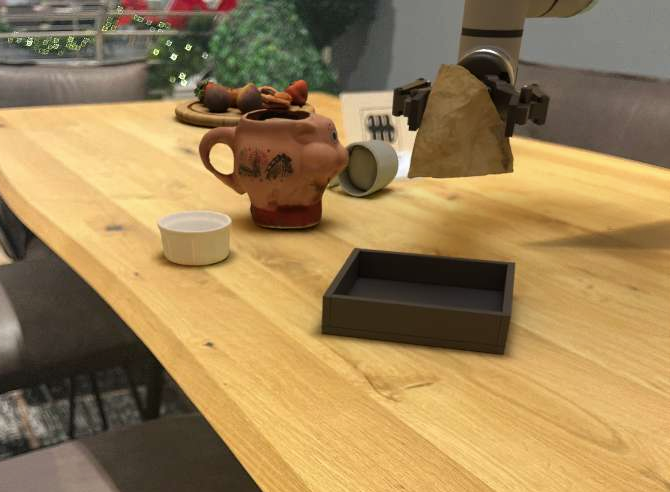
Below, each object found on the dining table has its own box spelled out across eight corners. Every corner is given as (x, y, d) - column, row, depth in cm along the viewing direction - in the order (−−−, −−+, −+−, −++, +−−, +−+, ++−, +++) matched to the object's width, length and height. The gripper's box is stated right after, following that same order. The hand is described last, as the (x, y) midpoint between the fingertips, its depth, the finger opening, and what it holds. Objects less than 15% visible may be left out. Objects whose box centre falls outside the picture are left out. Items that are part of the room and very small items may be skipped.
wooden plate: (309, 106, 189) (310, 68, 185) (320, 130, 163) (322, 87, 159) (179, 106, 188) (177, 68, 183) (170, 130, 162) (167, 86, 157)
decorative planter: (198, 234, 101) (191, 119, 93) (205, 210, 111) (200, 103, 103) (348, 235, 101) (354, 120, 93) (342, 210, 111) (347, 104, 103)
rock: (529, 144, 81) (440, 121, 83) (541, 77, 73) (442, 55, 75) (491, 226, 78) (401, 200, 81) (499, 167, 70) (399, 140, 73)
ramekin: (210, 272, 89) (208, 234, 87) (146, 261, 92) (142, 224, 90) (245, 251, 96) (244, 215, 93) (184, 241, 99) (182, 206, 96)
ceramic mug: (400, 189, 122) (403, 136, 118) (377, 200, 116) (380, 145, 112) (342, 181, 127) (343, 130, 122) (317, 191, 121) (317, 138, 117)
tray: (509, 296, 84) (515, 262, 82) (503, 354, 71) (511, 315, 69) (352, 281, 87) (354, 247, 85) (321, 333, 75) (322, 296, 73)
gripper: (565, 127, 90) (569, 168, 72) (388, 117, 94) (349, 153, 76) (580, 54, 85) (587, 78, 67) (393, 46, 90) (353, 68, 72)
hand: (461, 118), depth 72 cm, fingers closed on rock, 8 cm apart
